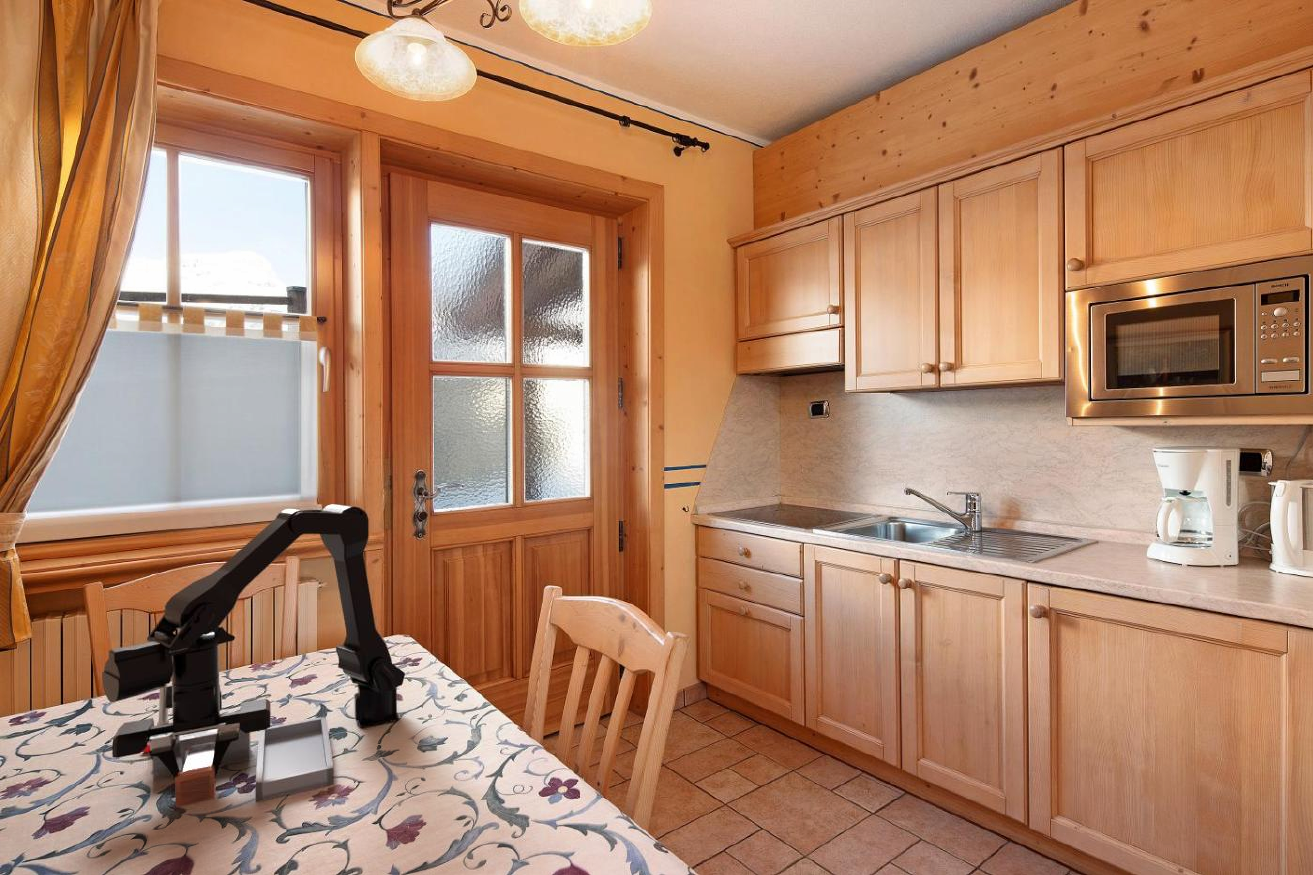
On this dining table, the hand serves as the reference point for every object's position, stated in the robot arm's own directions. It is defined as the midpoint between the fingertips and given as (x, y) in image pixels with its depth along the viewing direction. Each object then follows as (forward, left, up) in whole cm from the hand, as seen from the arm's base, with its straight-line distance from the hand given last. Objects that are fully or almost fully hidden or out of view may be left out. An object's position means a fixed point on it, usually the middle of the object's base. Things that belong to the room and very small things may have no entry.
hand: (197, 784), depth 99 cm
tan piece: (0, -4, -1) cm, 4 cm away
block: (0, -9, -1) cm, 9 cm away
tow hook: (+4, -19, -1) cm, 20 cm away
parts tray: (-12, -2, -1) cm, 13 cm away
